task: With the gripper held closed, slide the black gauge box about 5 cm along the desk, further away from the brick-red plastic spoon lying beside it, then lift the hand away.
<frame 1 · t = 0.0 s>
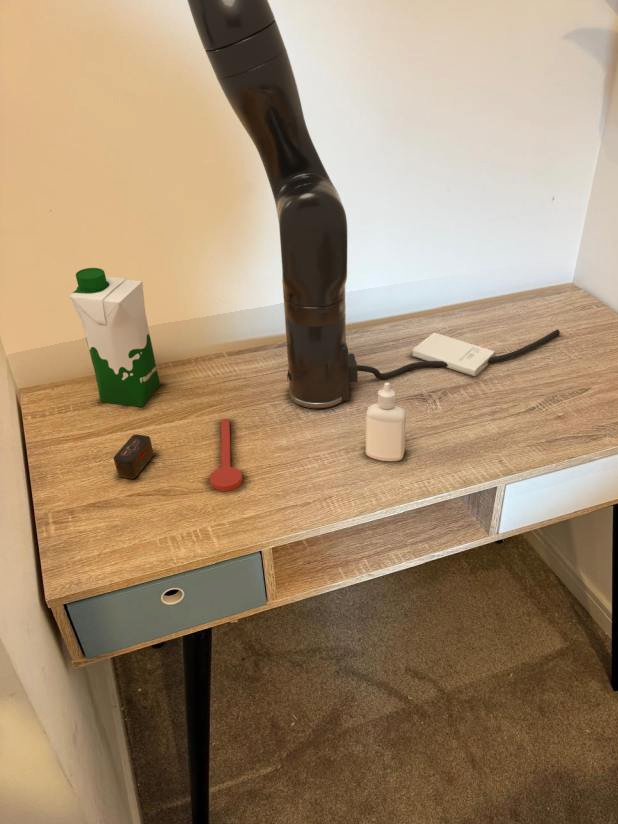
spoon: (226, 459, 107), on the table
hard drive: (453, 358, 132), on the table
eye dropper bottle: (384, 455, 109), on the table
black gauge box: (134, 463, 106), on the table
milk carton: (131, 394, 120), on the table
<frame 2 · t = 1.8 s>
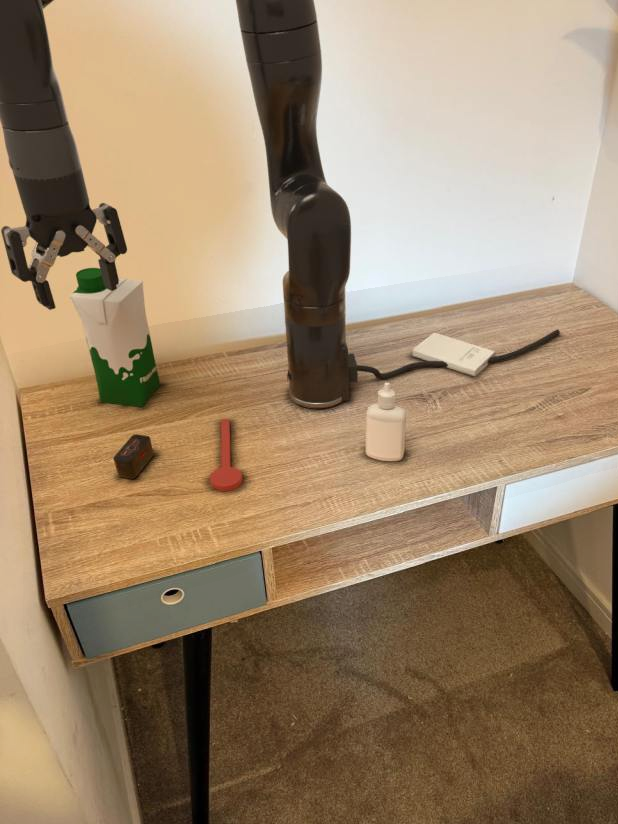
hand: (81, 297, 97), 22 cm above the table, tool pointing down, fingers open, 8 cm apart
nothing on the table moved.
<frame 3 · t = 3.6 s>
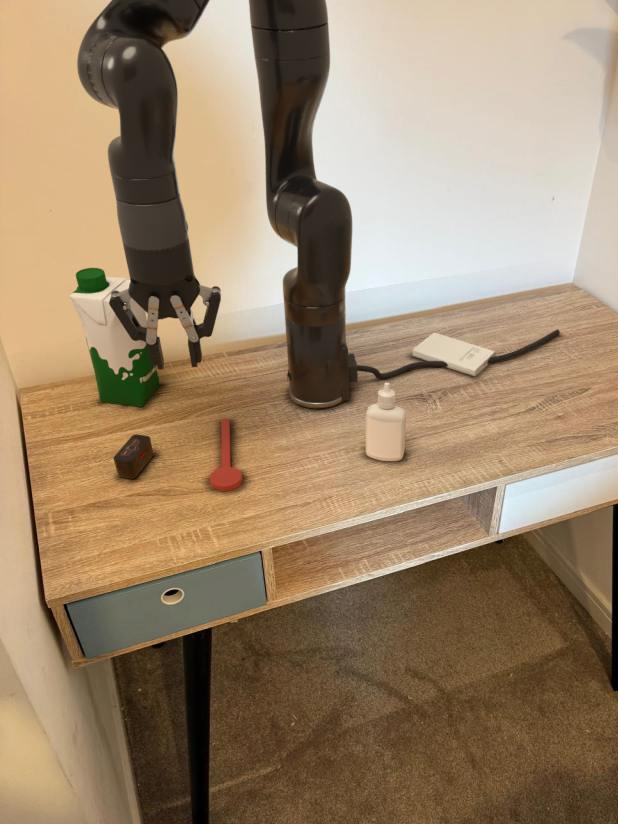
hand: (178, 364, 97), 15 cm above the table, tool pointing down, fingers open, 3 cm apart
nothing on the table moved.
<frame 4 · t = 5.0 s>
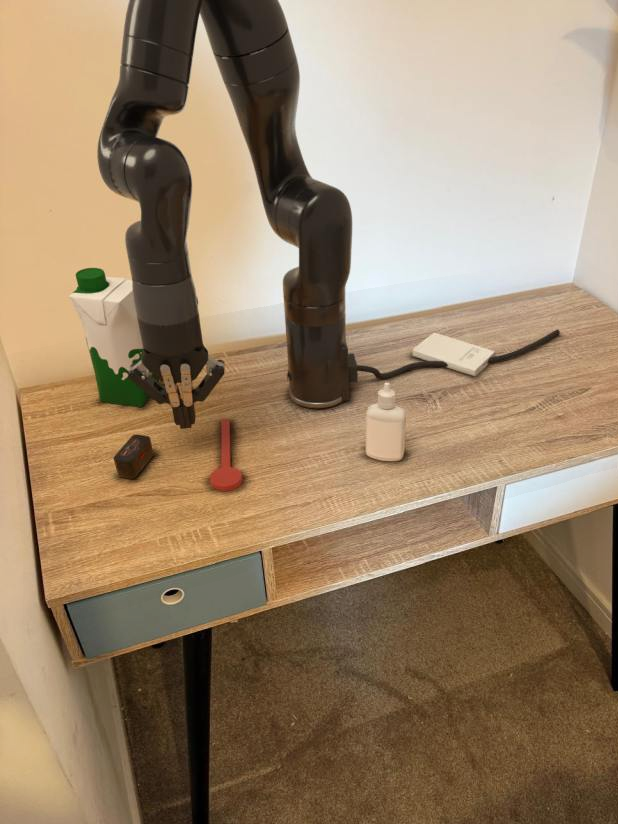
hand: (186, 425, 103), 6 cm above the table, tool pointing down, fingers closed
nothing on the table moved.
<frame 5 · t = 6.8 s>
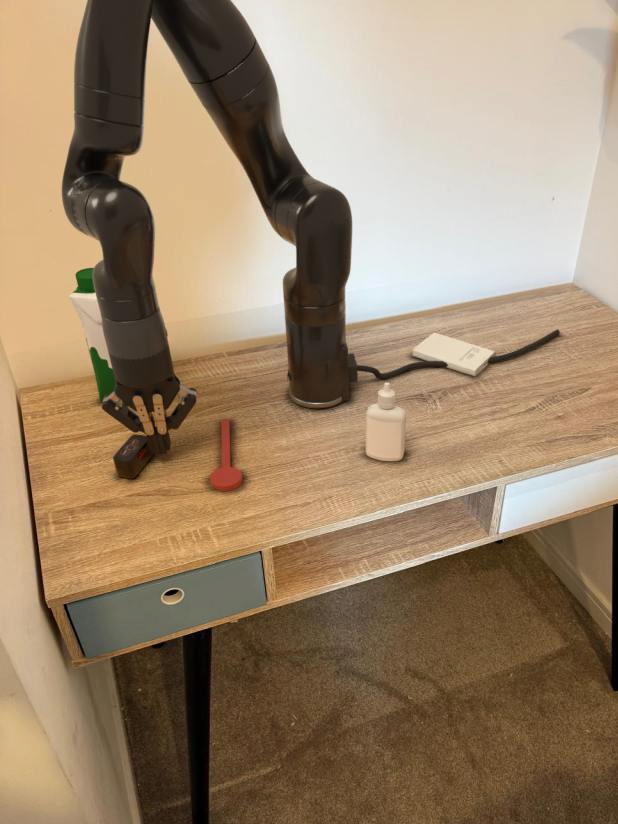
hand: (162, 451, 106), 2 cm above the table, tool pointing down, fingers closed
black gauge box: (133, 463, 106), on the table, touching gripper
everything else where it was.
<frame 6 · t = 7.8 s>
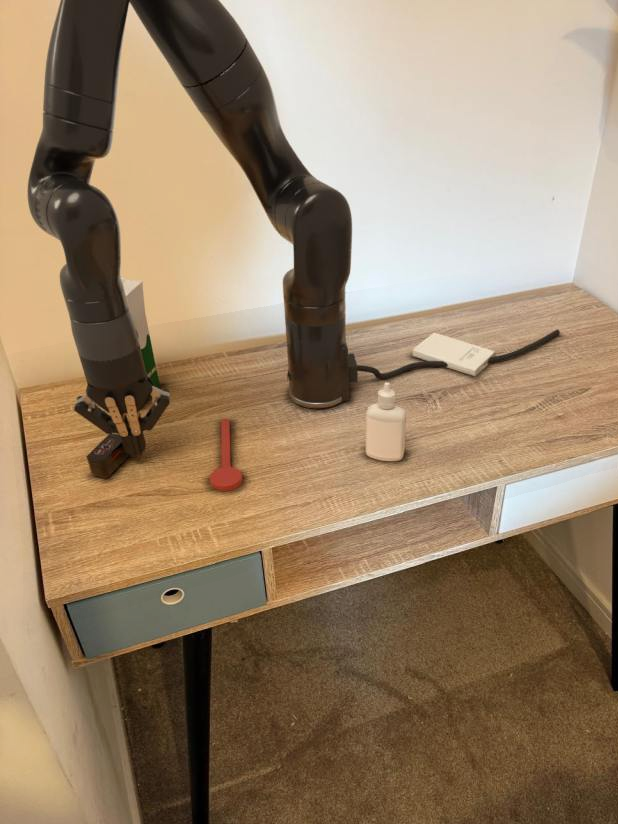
hand: (137, 452, 105), 2 cm above the table, tool pointing down, fingers closed
black gauge box: (110, 462, 106), on the table, touching gripper
everything else where it was.
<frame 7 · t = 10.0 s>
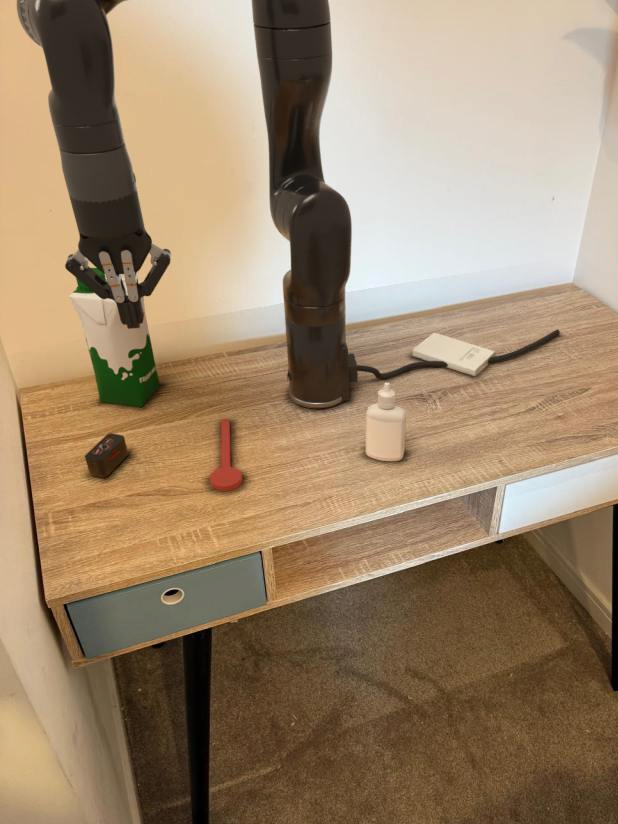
hand: (134, 325, 96), 19 cm above the table, tool pointing down, fingers closed
black gauge box: (108, 462, 106), on the table
everything else where it was.
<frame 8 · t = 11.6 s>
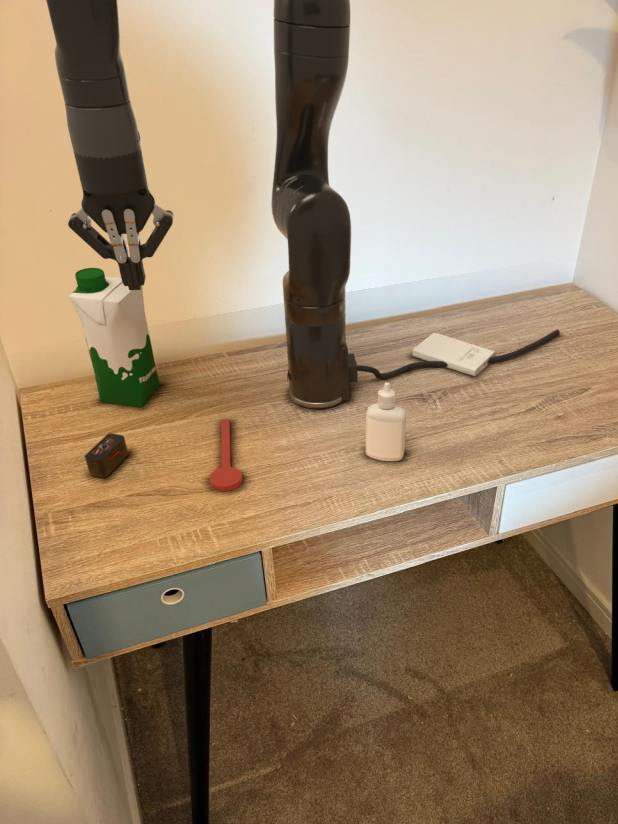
hand: (135, 287, 97), 23 cm above the table, tool pointing down, fingers closed
nothing on the table moved.
at the end: black gauge box inside the target area (3.2 cm from its centre), on the table; spoon moved 0.0 cm from its start; the gripper is holding nothing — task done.
